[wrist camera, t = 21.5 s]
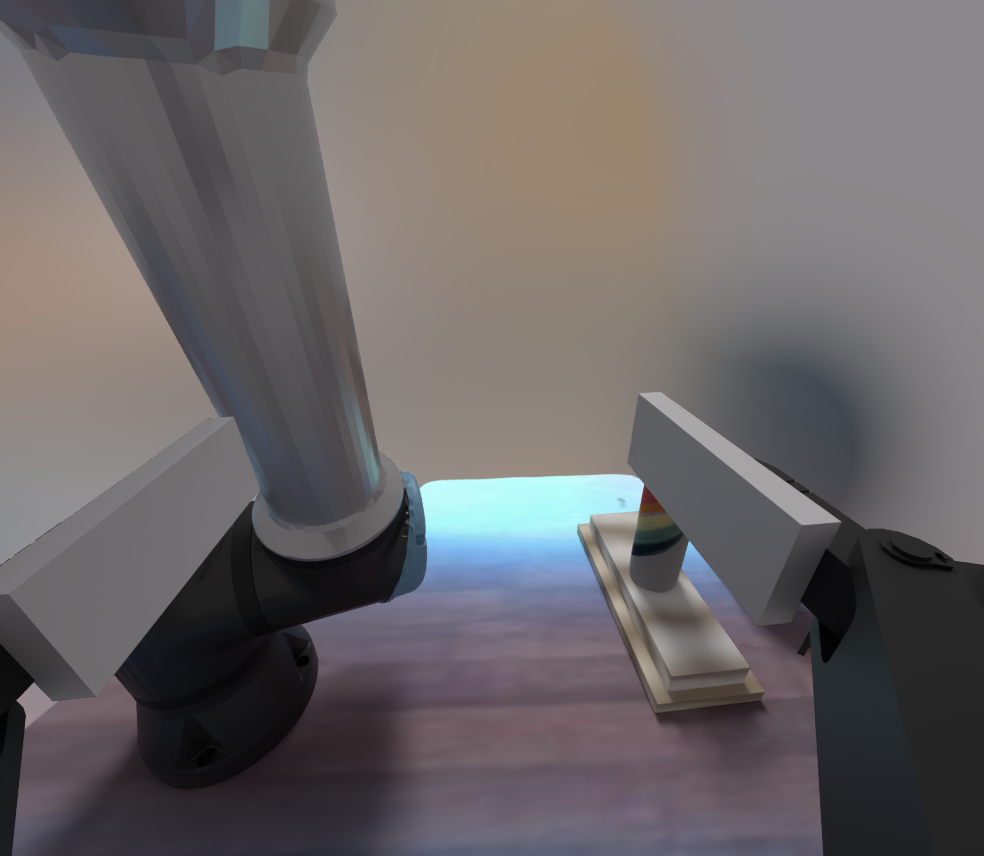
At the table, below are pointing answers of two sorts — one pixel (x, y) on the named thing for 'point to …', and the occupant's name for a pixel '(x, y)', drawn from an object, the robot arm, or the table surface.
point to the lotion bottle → (656, 547)
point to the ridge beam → (666, 627)
